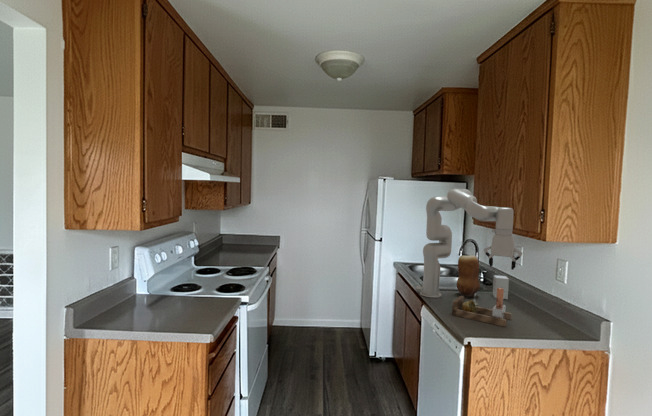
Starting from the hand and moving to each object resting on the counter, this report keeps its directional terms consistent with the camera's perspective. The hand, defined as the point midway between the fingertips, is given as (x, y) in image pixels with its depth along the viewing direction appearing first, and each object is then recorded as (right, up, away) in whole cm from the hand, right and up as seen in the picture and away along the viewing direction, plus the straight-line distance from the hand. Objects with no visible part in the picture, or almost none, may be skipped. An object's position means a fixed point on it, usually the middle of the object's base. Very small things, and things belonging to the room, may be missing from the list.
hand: (501, 267), depth 184 cm
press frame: (-8, -26, +6) cm, 28 cm away
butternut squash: (0, -25, +44) cm, 51 cm away
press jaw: (-1, -25, +1) cm, 25 cm away
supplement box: (+20, -25, +45) cm, 55 cm away
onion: (-13, -26, +9) cm, 30 cm away
